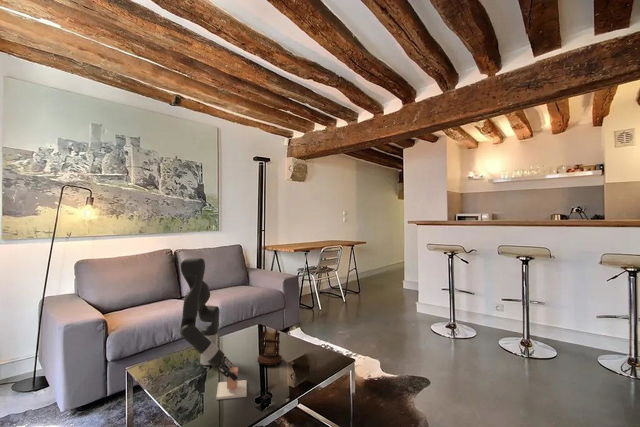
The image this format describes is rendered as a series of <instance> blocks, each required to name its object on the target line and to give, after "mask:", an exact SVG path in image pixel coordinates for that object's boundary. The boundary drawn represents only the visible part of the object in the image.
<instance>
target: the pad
mask: <svg viewBox="0 0 640 427" xmlns="http://www.w3.org/2000/svg"><path fill="white" fill-rule="evenodd" d="M247 389H248V388H247V379H242V380H238V383H237V388H230V389H227V381H219V382H218V384H217V389H216V390H217V391H216V397H215V398H216V399H215V400H216V401H217V400H227V399H235V398H237V399H238V398H247V395H248V394H247V393H248V392H247Z"/></svg>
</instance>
